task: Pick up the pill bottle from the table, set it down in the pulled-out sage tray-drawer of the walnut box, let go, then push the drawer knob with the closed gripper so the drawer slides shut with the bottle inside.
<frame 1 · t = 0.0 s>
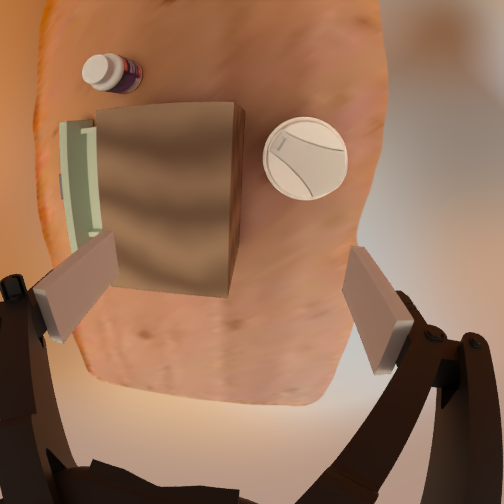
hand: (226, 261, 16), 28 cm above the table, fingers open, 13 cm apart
drawer: (105, 183, 38), point 4 cm above the table, slide at 9.5 cm
pill bottle: (127, 77, 36), on the table
coffee cup: (293, 149, 40), on the table
housing: (193, 178, 42), on the table
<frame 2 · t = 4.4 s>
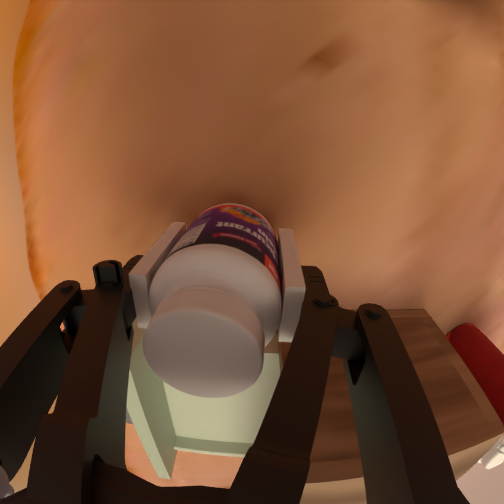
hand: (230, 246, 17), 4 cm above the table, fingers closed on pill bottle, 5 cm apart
drawer: (207, 415, 24), point 4 cm above the table, slide at 9.5 cm
pill bottle: (232, 243, 18), point 4 cm above the table, touching gripper
coffee cup: (456, 344, 26), on the table
housing: (334, 388, 28), on the table
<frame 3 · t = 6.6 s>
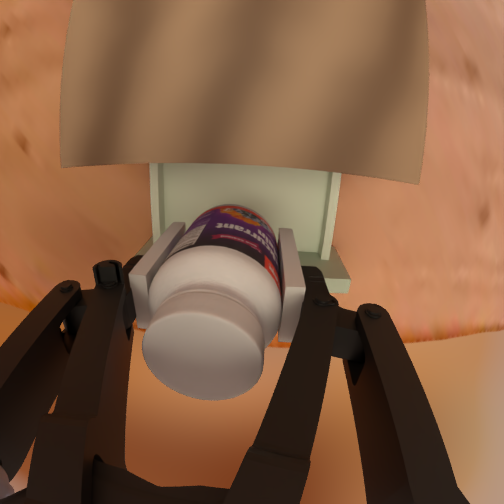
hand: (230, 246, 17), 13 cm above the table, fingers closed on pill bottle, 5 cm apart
drawer: (241, 210, 26), point 4 cm above the table, slide at 9.5 cm
pill bottle: (232, 244, 18), point 13 cm above the table, touching gripper
housing: (250, 76, 25), on the table
when the fingers open (3 cm above the table, at t = 8.6 s): pill bottle stays where it is, resting on drawer.
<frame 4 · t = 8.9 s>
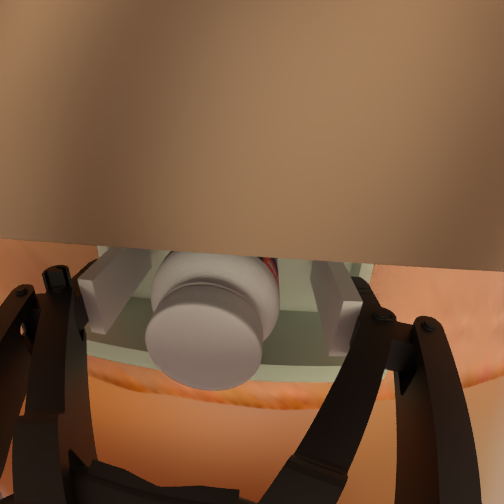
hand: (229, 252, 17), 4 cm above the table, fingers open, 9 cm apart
drawer: (228, 260, 17), point 4 cm above the table, slide at 9.5 cm, touching pill bottle
pill bottle: (231, 240, 18), point 2 cm above the table, touching drawer
housing: (244, 51, 15), on the table
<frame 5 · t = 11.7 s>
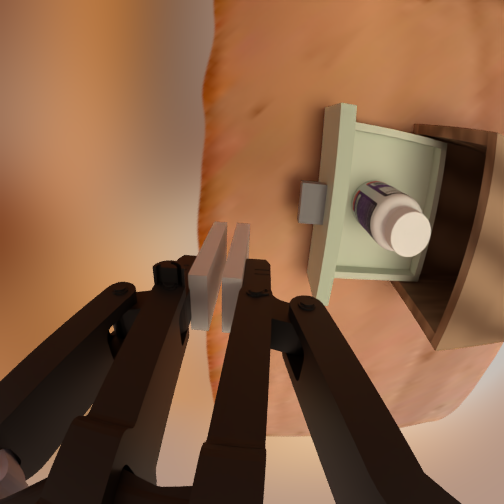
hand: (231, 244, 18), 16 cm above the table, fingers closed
drawer: (374, 207, 29), point 4 cm above the table, slide at 9.5 cm, touching pill bottle
pill bottle: (373, 203, 31), point 2 cm above the table, touching drawer
housing: (446, 210, 32), on the table
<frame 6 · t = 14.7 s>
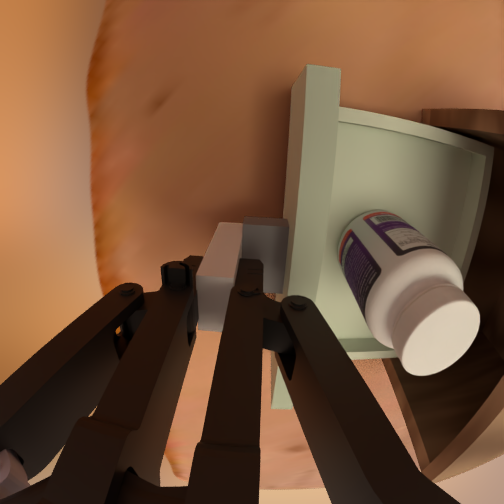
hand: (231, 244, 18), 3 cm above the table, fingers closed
drawer: (376, 258, 17), point 4 cm above the table, slide at 7.9 cm, touching gripper, pill bottle
pill bottle: (373, 246, 19), point 2 cm above the table, touching drawer
housing: (467, 245, 20), on the table
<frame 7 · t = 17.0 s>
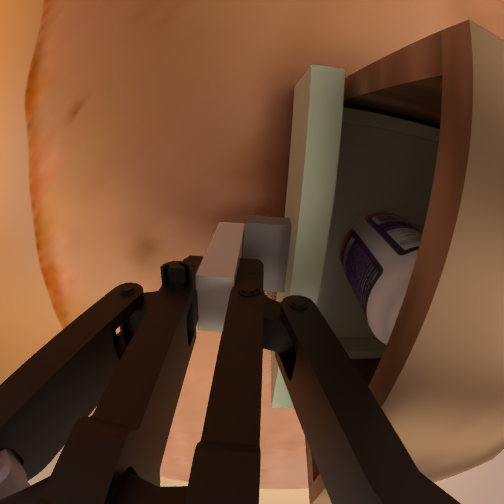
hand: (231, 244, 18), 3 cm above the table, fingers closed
drawer: (377, 258, 17), point 4 cm above the table, slide at 0.5 cm, touching pill bottle
pill bottle: (374, 246, 19), point 2 cm above the table, touching drawer
housing: (400, 238, 21), on the table
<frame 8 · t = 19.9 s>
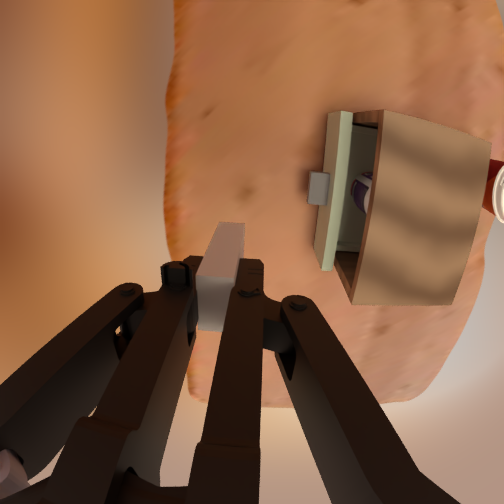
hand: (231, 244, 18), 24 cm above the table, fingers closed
drawer: (368, 192, 36), point 4 cm above the table, slide at 0.5 cm, touching pill bottle
pill bottle: (366, 189, 38), point 2 cm above the table, touching drawer
coffee cup: (457, 172, 38), on the table
housing: (380, 189, 40), on the table
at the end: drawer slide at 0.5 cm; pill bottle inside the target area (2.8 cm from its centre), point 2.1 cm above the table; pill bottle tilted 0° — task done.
